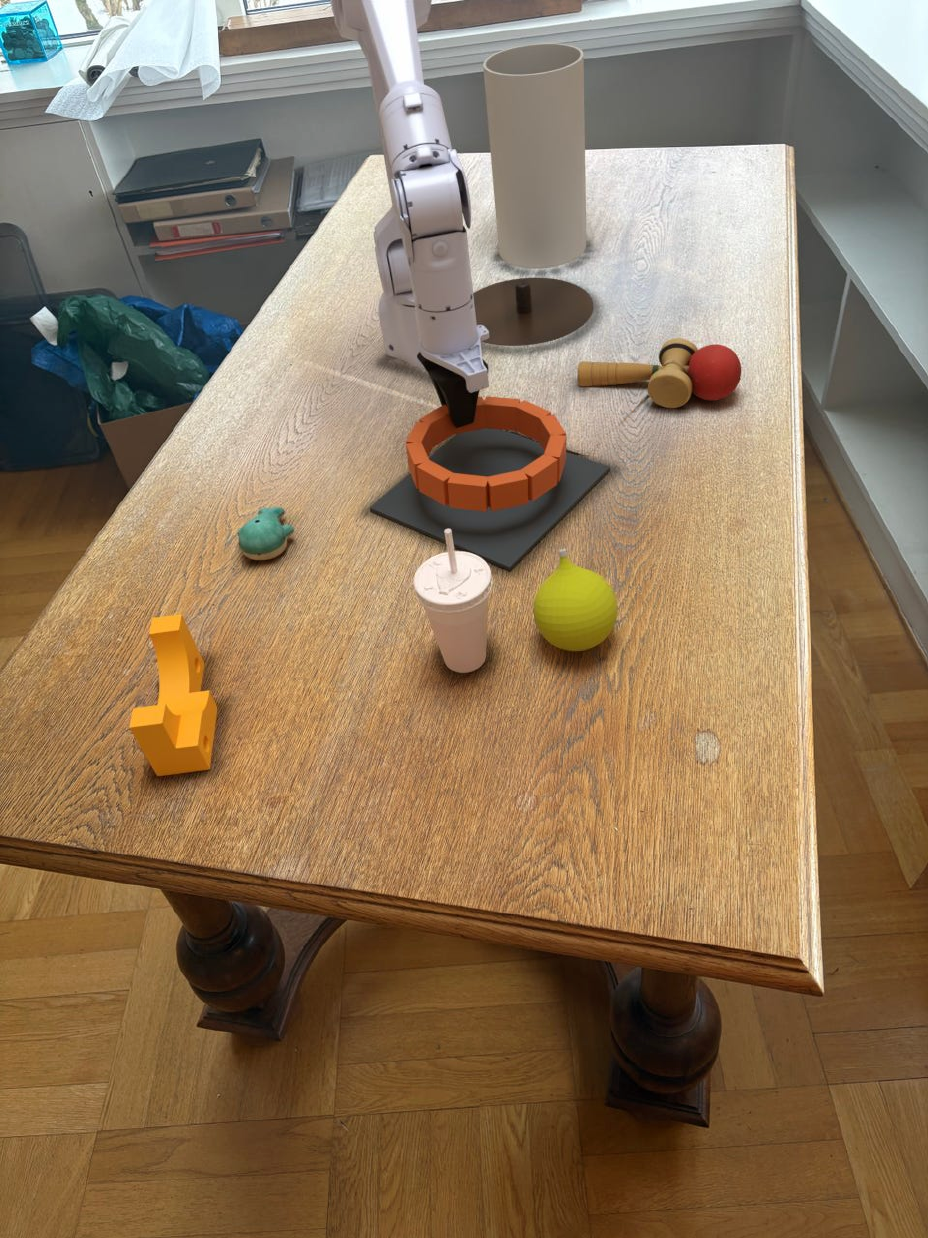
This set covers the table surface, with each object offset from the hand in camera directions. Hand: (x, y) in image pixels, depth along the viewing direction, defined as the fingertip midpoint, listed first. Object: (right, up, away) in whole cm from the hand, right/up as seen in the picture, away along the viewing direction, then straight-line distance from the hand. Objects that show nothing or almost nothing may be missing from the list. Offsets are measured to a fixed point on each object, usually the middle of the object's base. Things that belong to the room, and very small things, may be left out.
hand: (459, 418), depth 100 cm
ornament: (+10, -23, -17) cm, 30 cm away
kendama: (+23, +5, +8) cm, 24 cm away
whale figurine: (-19, -13, -3) cm, 24 cm away
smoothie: (+1, -25, -17) cm, 30 cm away
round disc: (+8, +19, +24) cm, 31 cm away
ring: (+3, -5, -4) cm, 7 cm away
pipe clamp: (-23, -30, -18) cm, 42 cm away
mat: (+3, -8, -1) cm, 9 cm away
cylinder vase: (+12, +31, +36) cm, 49 cm away
